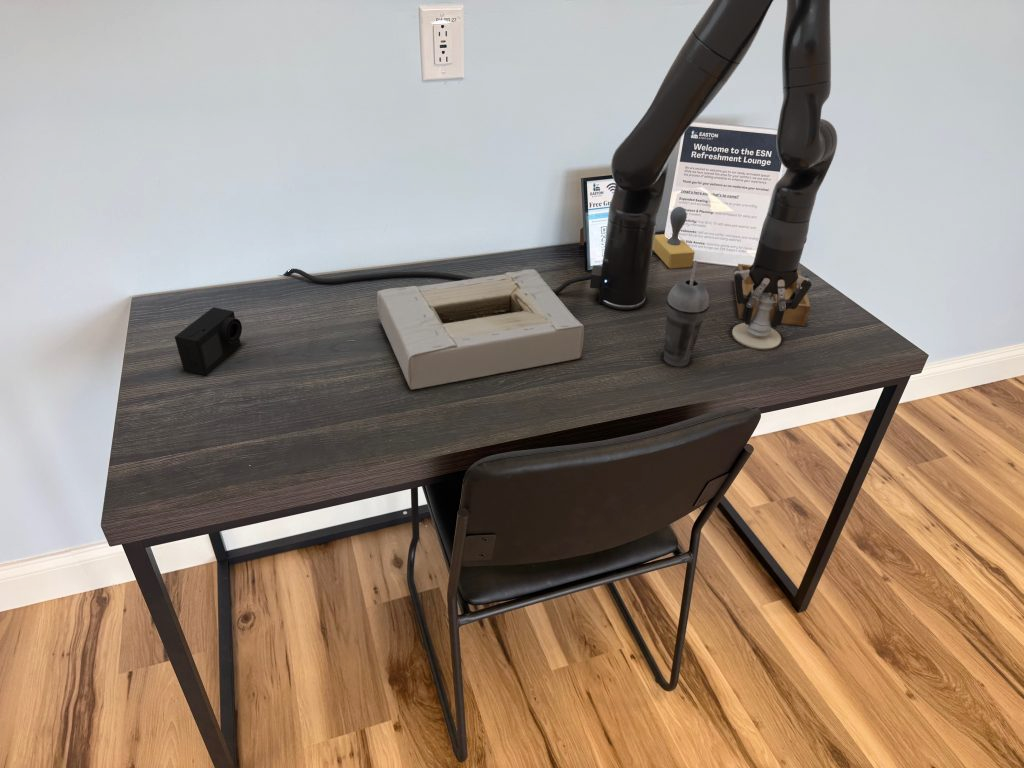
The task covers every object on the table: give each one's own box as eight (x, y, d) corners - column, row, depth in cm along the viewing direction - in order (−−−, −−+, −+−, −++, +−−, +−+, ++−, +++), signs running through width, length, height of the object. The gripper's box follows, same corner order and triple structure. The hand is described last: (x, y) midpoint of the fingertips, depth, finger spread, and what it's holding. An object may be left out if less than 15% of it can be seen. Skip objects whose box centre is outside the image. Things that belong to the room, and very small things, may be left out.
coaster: (733, 346, 136) (734, 344, 135) (730, 321, 143) (730, 320, 143) (783, 352, 135) (784, 350, 134) (777, 327, 142) (778, 325, 142)
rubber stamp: (651, 249, 169) (659, 199, 162) (674, 247, 170) (683, 198, 163) (668, 268, 161) (677, 217, 154) (692, 266, 162) (702, 215, 155)
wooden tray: (738, 318, 144) (743, 298, 142) (733, 282, 157) (738, 263, 154) (804, 326, 142) (811, 306, 140) (794, 288, 155) (799, 270, 152)
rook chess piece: (768, 340, 136) (778, 302, 131) (744, 334, 137) (753, 296, 133) (772, 328, 139) (782, 291, 134) (748, 323, 141) (757, 286, 136)
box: (533, 298, 148) (377, 322, 138) (536, 264, 144) (374, 286, 133) (583, 360, 131) (409, 393, 121) (588, 324, 126) (407, 354, 116)
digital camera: (211, 377, 122) (202, 342, 118) (183, 371, 123) (173, 336, 119) (247, 346, 130) (240, 311, 126) (220, 340, 132) (212, 306, 127)
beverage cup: (699, 353, 133) (721, 252, 122) (694, 374, 128) (716, 271, 116) (659, 345, 135) (677, 245, 123) (652, 365, 129) (670, 263, 118)
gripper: (821, 234, 129) (796, 318, 139) (738, 226, 131) (720, 310, 141) (828, 253, 123) (802, 339, 133) (742, 244, 125) (722, 329, 135)
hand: (760, 323), depth 137 cm, fingers closed on rook chess piece, 4 cm apart
